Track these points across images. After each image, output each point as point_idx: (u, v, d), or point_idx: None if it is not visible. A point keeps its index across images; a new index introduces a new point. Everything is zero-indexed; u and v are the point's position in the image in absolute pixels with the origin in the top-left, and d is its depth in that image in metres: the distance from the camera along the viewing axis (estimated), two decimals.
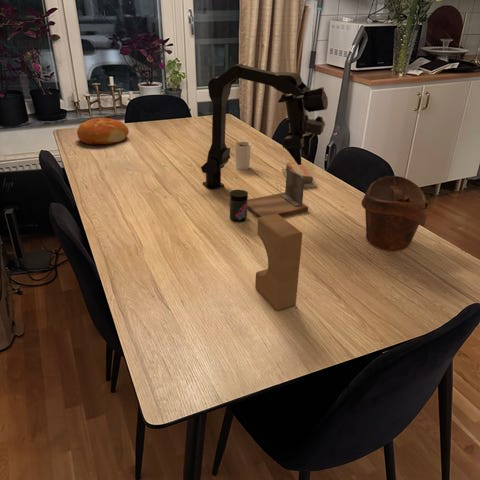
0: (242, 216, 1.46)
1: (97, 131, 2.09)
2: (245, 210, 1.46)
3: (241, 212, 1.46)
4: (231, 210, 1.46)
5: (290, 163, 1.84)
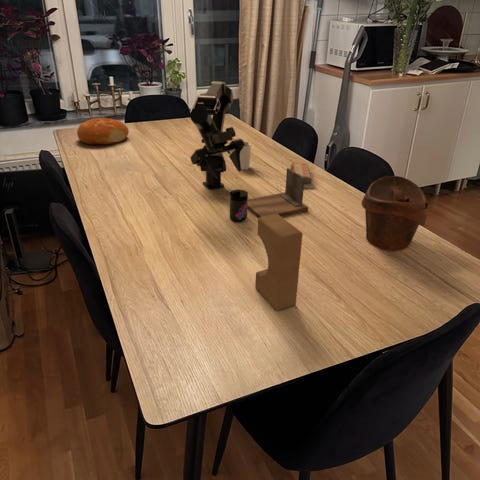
0: (242, 216, 1.46)
1: (97, 131, 2.09)
2: (245, 210, 1.46)
3: (241, 212, 1.46)
4: (231, 210, 1.46)
5: (294, 163, 1.85)
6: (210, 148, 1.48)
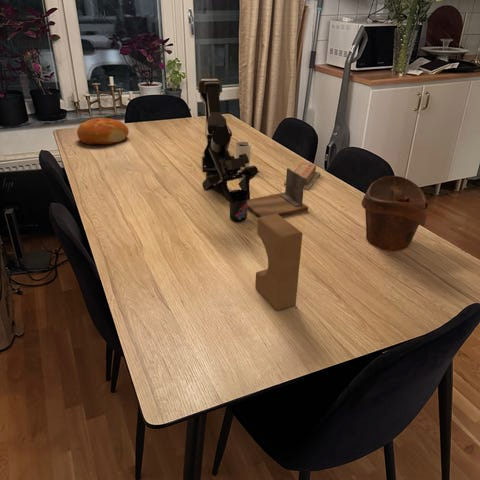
0: (242, 216, 1.46)
1: (97, 131, 2.09)
2: (245, 210, 1.46)
3: (241, 212, 1.45)
4: (231, 210, 1.46)
5: (303, 163, 1.84)
6: (222, 174, 1.45)
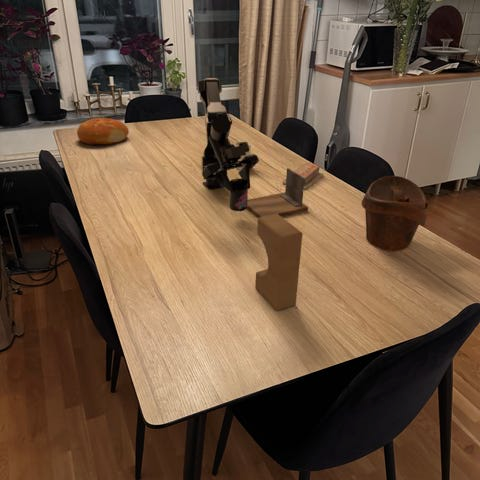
0: (242, 206, 1.45)
1: (97, 131, 2.09)
2: (245, 199, 1.44)
3: (241, 201, 1.44)
4: (231, 199, 1.44)
5: (306, 163, 1.84)
6: (222, 163, 1.43)
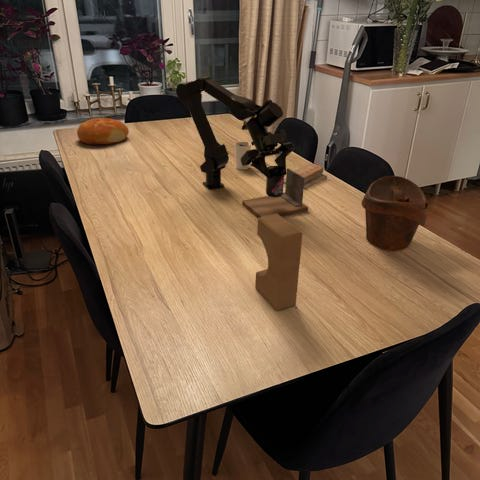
0: (278, 192, 1.50)
1: (97, 131, 2.09)
2: (282, 185, 1.49)
3: (278, 187, 1.49)
4: (268, 185, 1.50)
5: (311, 164, 1.83)
6: (260, 150, 1.48)
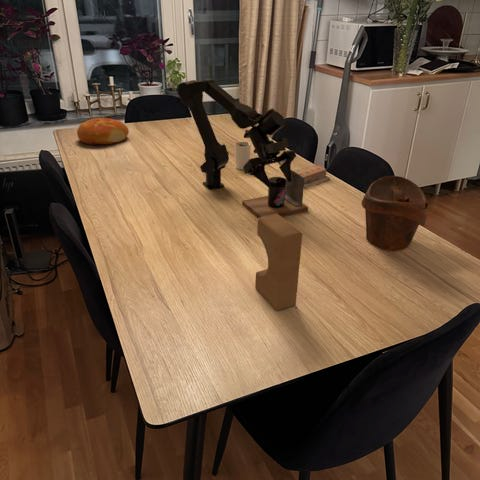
0: (280, 202, 1.53)
1: (97, 131, 2.09)
2: (283, 196, 1.52)
3: (279, 198, 1.52)
4: (269, 196, 1.52)
5: (315, 165, 1.82)
6: (263, 158, 1.50)
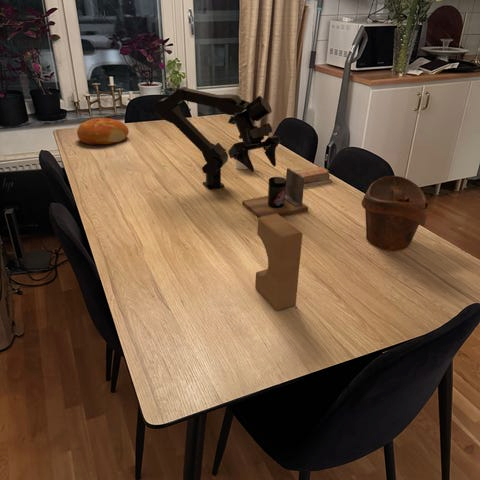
0: (280, 202, 1.53)
1: (97, 131, 2.09)
2: (283, 196, 1.52)
3: (280, 198, 1.52)
4: (270, 196, 1.52)
5: (319, 167, 1.81)
6: (247, 143, 1.55)
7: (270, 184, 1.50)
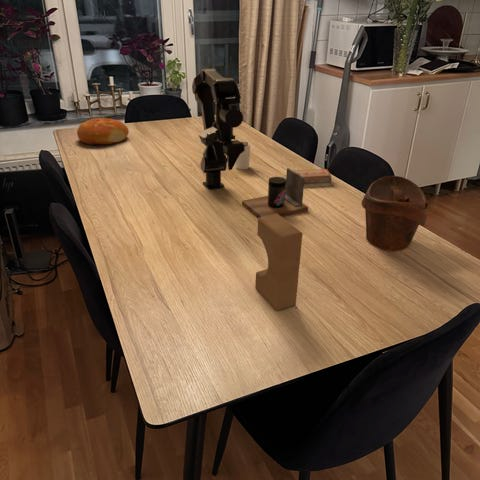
0: (280, 202, 1.53)
1: (97, 131, 2.09)
2: (283, 196, 1.52)
3: (279, 198, 1.52)
4: (269, 196, 1.52)
5: (323, 169, 1.79)
6: None
7: (270, 184, 1.50)
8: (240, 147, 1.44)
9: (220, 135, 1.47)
